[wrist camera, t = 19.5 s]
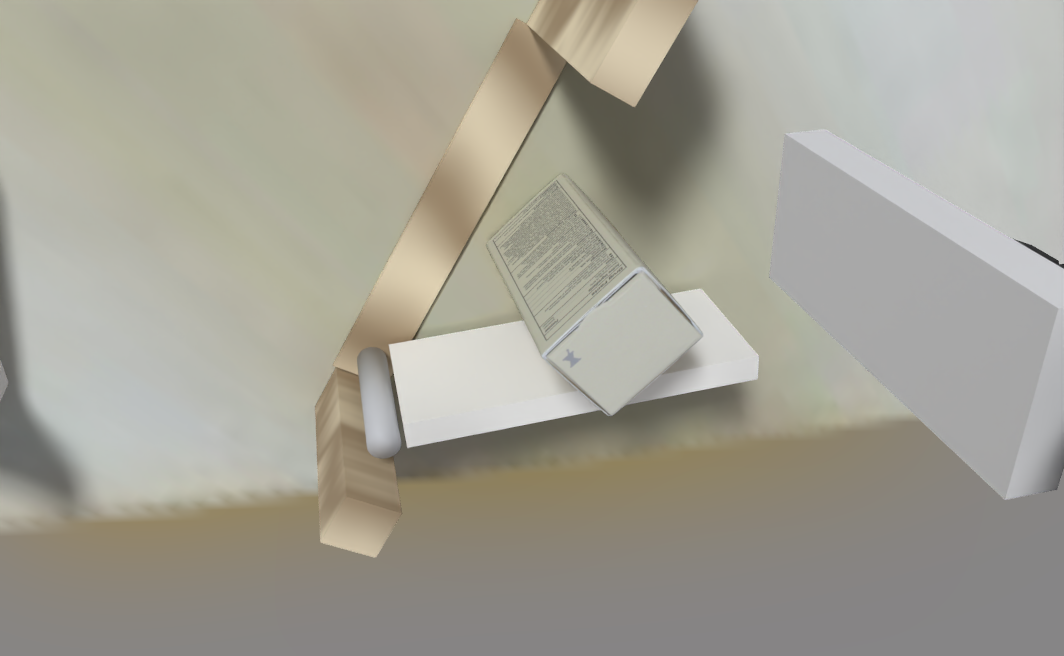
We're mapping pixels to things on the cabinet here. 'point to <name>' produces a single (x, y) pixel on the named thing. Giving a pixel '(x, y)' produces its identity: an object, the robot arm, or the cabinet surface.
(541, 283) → the box
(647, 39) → the door frame
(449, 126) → the cabinet surface
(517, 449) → the cabinet surface
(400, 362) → the door
